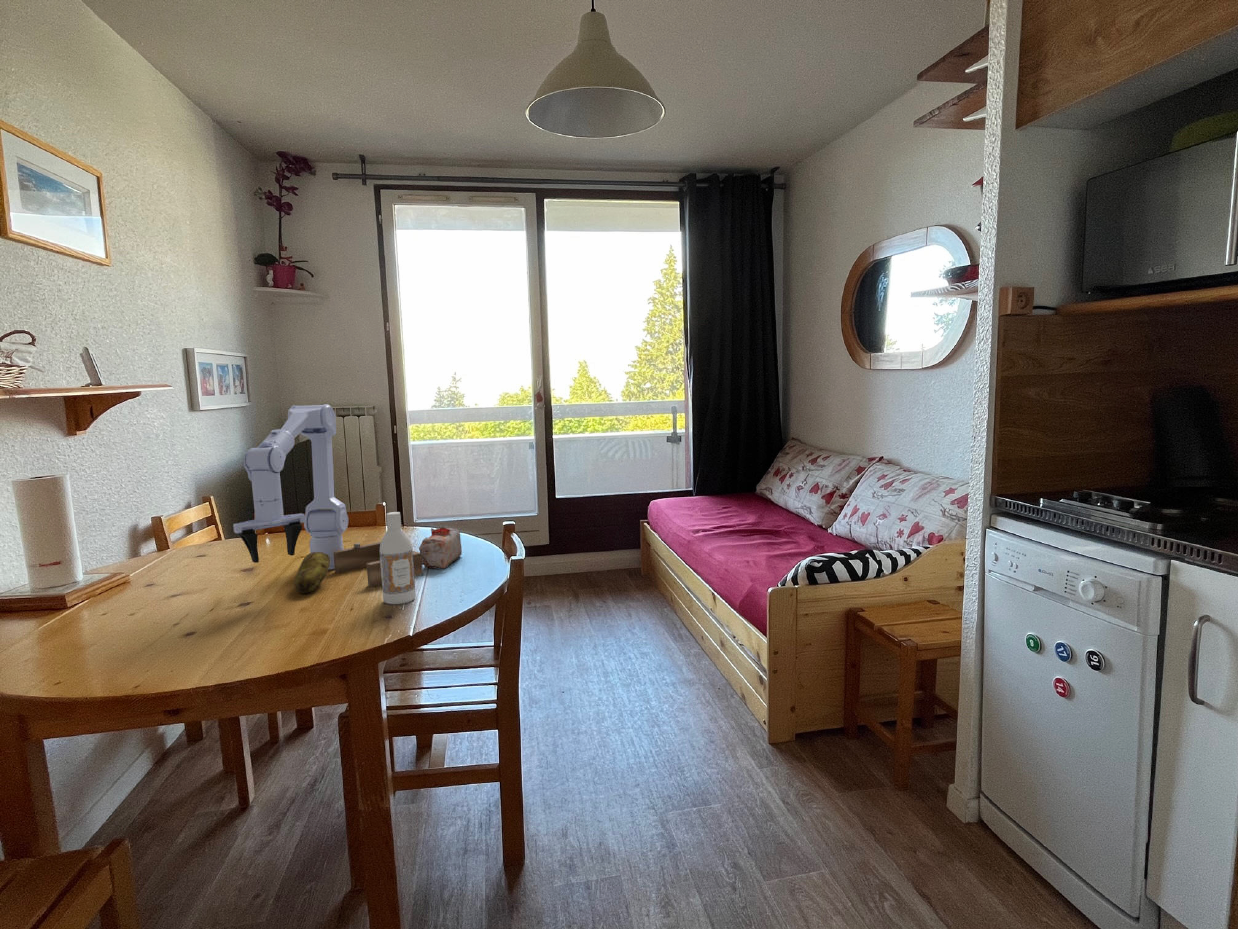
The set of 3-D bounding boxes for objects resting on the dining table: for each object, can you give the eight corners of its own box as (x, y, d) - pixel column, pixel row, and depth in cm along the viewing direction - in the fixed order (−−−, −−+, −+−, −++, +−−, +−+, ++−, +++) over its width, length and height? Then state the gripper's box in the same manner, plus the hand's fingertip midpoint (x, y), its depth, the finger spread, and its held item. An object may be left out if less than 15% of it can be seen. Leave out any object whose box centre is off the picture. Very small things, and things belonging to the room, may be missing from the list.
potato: (279, 595, 152) (275, 562, 151) (313, 579, 164) (311, 548, 163) (311, 597, 150) (308, 563, 149) (343, 580, 163) (341, 549, 162)
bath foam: (387, 607, 141) (380, 517, 139) (380, 599, 147) (373, 512, 144) (419, 600, 145) (413, 513, 142) (410, 593, 151) (404, 508, 148)
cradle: (335, 571, 170) (332, 547, 170) (383, 560, 180) (381, 537, 179) (372, 587, 156) (369, 560, 155) (422, 574, 166) (420, 549, 165)
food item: (447, 570, 169) (445, 533, 168) (418, 570, 170) (415, 533, 169) (464, 556, 182) (462, 522, 181) (437, 556, 183) (435, 522, 182)
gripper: (238, 506, 139) (244, 568, 140) (308, 496, 149) (313, 554, 151) (227, 503, 144) (234, 563, 145) (295, 494, 154) (301, 549, 156)
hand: (273, 558), depth 148 cm, fingers open, 7 cm apart
